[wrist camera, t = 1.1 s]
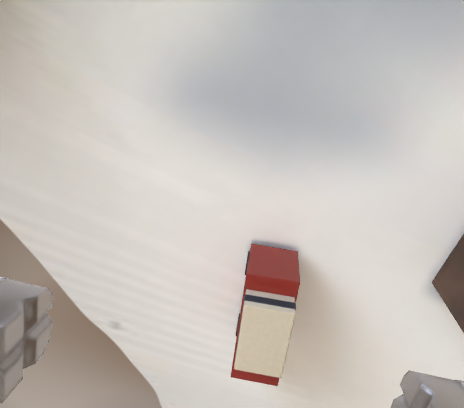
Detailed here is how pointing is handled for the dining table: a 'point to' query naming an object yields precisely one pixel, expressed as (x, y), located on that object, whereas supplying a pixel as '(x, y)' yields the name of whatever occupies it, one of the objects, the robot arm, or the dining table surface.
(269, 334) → the car
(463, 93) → the dining table surface
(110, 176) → the dining table surface
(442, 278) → the cabinet
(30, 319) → the robot arm
